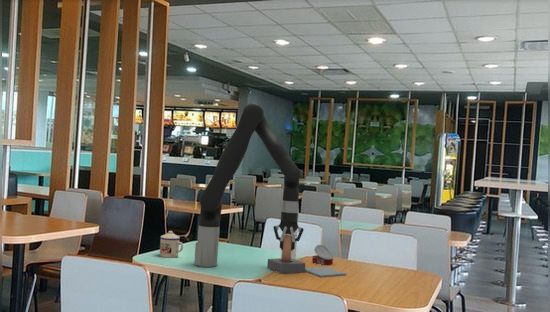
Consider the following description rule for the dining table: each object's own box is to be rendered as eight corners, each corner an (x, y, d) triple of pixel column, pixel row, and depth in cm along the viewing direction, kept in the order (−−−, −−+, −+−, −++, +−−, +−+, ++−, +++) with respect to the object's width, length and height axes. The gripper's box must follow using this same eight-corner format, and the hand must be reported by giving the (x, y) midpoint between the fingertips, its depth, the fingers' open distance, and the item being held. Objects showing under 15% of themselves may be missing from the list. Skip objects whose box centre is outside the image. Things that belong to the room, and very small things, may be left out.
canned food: (327, 271, 249) (337, 254, 249) (327, 273, 239) (338, 255, 239) (307, 259, 250) (318, 241, 251) (307, 260, 240) (318, 242, 241)
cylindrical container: (295, 262, 241) (299, 210, 242) (280, 261, 241) (284, 209, 242) (295, 259, 248) (298, 209, 249) (280, 258, 249) (284, 208, 249)
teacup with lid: (154, 256, 235) (156, 230, 235) (166, 253, 243) (168, 229, 244) (176, 259, 230) (178, 233, 230) (187, 256, 238) (189, 232, 239)
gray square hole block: (281, 273, 215) (282, 264, 215) (267, 268, 225) (267, 258, 225) (304, 272, 221) (305, 263, 221) (289, 266, 231) (290, 257, 231)
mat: (320, 277, 213) (320, 275, 213) (301, 270, 225) (301, 268, 225) (346, 275, 220) (346, 273, 220) (326, 268, 232) (326, 266, 232)
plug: (284, 264, 220) (286, 236, 220) (279, 262, 223) (281, 235, 224) (292, 263, 222) (294, 236, 222) (287, 261, 226) (289, 234, 226)
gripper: (273, 210, 220) (270, 250, 219) (306, 213, 219) (303, 252, 219) (274, 209, 227) (271, 247, 227) (305, 211, 227) (302, 249, 226)
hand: (287, 249), depth 223 cm, fingers closed on plug, 4 cm apart
